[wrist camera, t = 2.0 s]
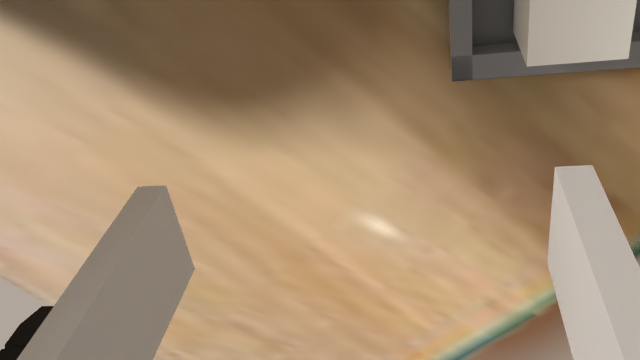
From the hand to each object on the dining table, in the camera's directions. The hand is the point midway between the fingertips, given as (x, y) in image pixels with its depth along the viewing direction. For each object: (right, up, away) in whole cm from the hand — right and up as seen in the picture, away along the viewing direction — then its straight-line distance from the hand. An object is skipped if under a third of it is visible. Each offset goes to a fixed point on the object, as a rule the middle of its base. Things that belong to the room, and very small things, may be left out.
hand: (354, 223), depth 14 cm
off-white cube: (+10, +10, +13) cm, 19 cm away
